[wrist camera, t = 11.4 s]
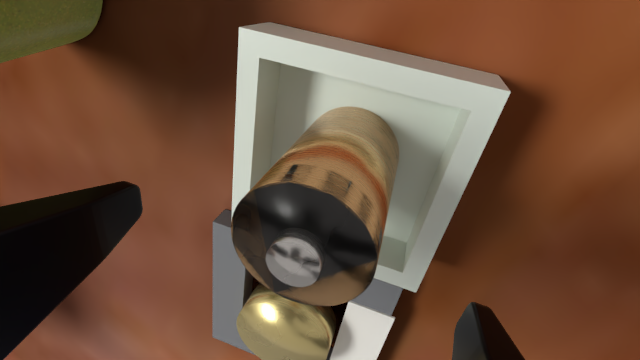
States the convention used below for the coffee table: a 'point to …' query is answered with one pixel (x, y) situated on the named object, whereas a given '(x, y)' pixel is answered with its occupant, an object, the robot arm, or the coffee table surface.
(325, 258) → the copper cell
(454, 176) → the trough
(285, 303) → the brass plunger
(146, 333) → the coffee table surface
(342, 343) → the grey square tray
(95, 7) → the plant pot
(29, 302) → the robot arm
